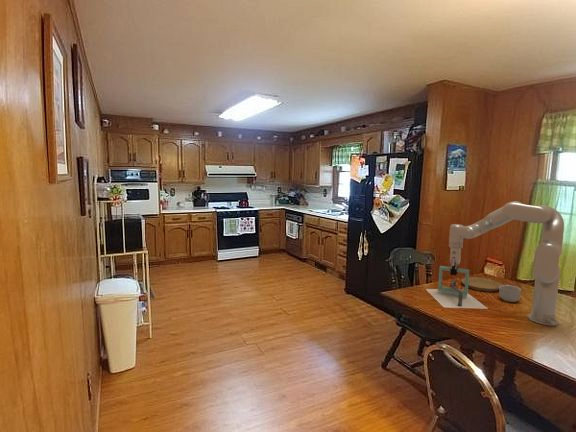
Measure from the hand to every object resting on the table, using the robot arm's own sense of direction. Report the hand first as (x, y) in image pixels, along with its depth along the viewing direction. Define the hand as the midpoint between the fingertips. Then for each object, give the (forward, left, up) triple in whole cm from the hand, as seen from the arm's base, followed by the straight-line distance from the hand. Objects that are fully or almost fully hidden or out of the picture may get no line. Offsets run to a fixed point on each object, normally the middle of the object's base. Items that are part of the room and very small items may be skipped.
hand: (453, 273), depth 200 cm
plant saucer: (+22, -28, -16) cm, 39 cm away
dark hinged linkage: (-6, 0, -14) cm, 15 cm away
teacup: (-1, -33, -15) cm, 36 cm away
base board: (-5, +1, -15) cm, 16 cm away
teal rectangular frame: (0, 0, -12) cm, 12 cm away
